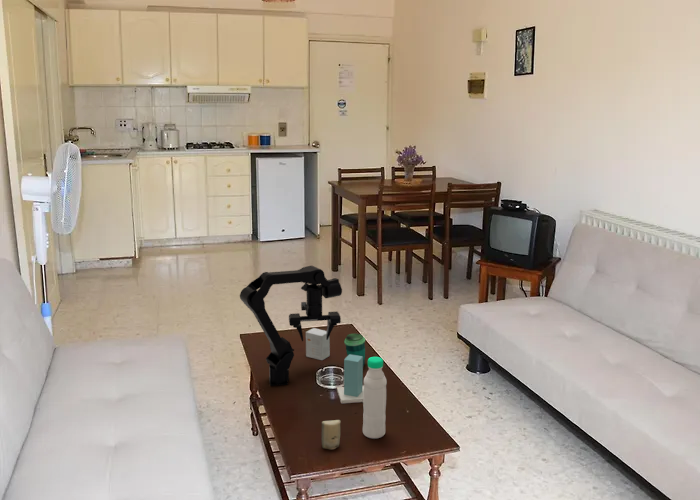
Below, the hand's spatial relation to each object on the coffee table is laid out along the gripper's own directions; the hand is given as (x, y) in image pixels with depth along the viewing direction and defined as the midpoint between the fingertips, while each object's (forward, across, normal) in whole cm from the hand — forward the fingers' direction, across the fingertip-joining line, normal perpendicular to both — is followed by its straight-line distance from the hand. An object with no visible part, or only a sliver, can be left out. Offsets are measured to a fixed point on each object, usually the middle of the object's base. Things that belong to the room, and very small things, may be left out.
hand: (314, 340), depth 239 cm
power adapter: (+13, +1, +52) cm, 54 cm away
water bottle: (+13, -13, +47) cm, 50 cm away
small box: (+13, -3, -15) cm, 20 cm away
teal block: (+12, -11, +21) cm, 26 cm away
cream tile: (+13, -11, +21) cm, 27 cm away
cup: (+13, -16, -4) cm, 21 cm away
